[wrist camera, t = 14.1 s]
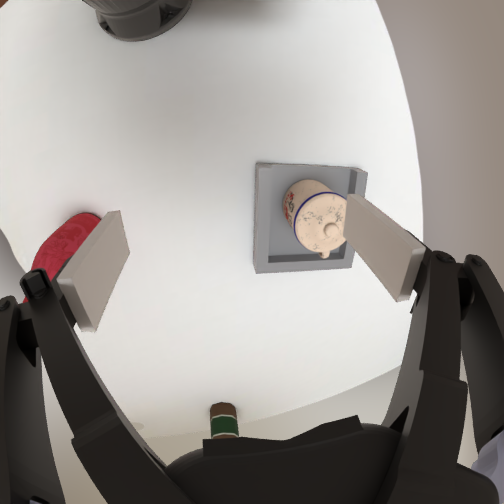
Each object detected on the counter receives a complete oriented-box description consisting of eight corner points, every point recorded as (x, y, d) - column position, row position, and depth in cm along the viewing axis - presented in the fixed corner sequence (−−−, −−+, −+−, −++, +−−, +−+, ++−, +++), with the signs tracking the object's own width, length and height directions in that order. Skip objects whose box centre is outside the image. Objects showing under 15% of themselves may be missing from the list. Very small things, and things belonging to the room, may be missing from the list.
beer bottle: (220, 399, 70) (226, 474, 49) (240, 406, 74) (250, 477, 53) (204, 409, 73) (208, 480, 52) (225, 415, 76) (231, 483, 55)
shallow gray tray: (255, 163, 42) (259, 167, 39) (358, 168, 44) (367, 172, 41) (253, 263, 51) (255, 273, 48) (344, 258, 53) (351, 267, 50)
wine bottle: (112, 212, 43) (18, 336, 16) (114, 262, 47) (51, 398, 21) (65, 208, 41) (-41, 313, 14) (70, 256, 45) (-8, 374, 19)
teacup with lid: (274, 185, 43) (293, 209, 33) (327, 171, 43) (360, 191, 33) (289, 249, 49) (308, 287, 39) (336, 235, 49) (365, 268, 39)
